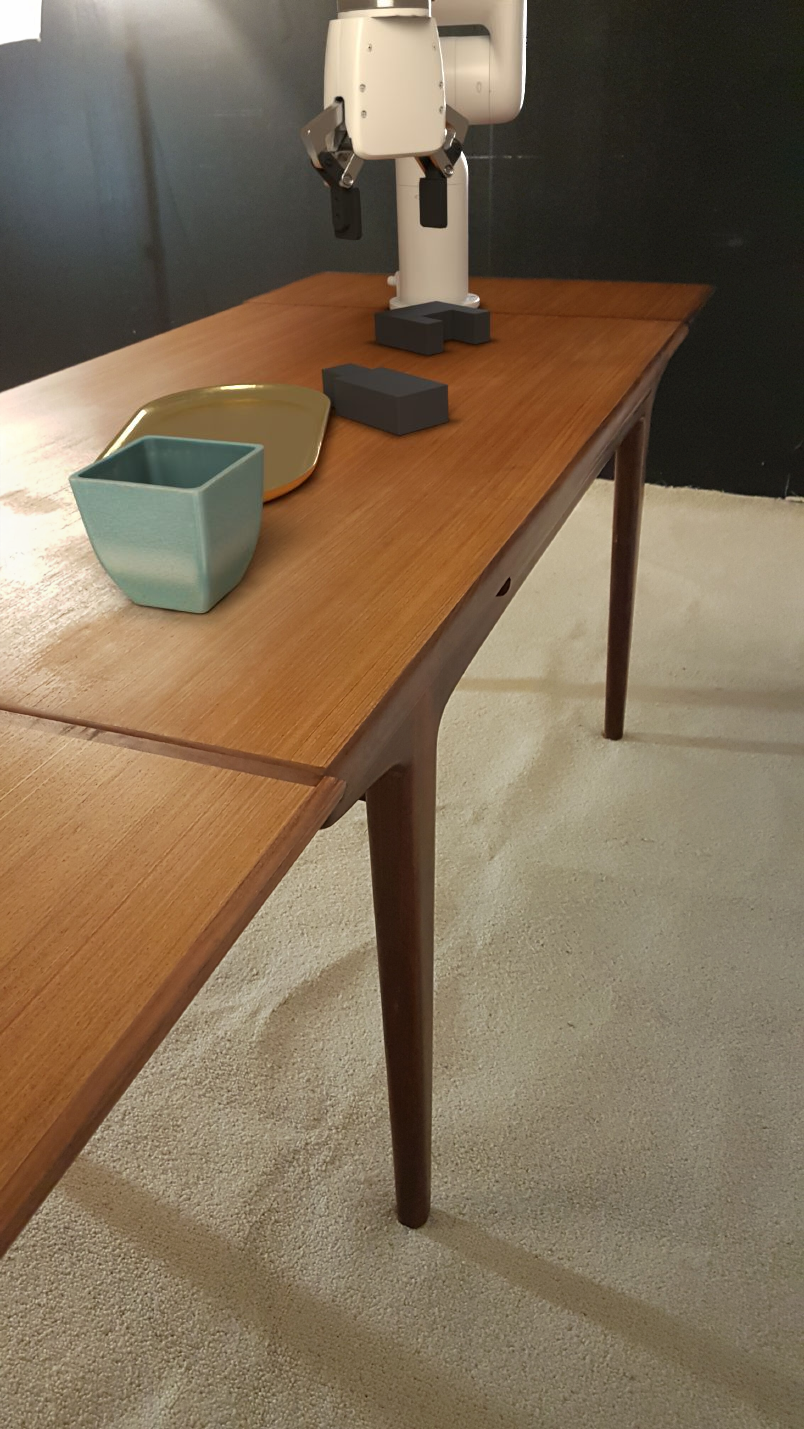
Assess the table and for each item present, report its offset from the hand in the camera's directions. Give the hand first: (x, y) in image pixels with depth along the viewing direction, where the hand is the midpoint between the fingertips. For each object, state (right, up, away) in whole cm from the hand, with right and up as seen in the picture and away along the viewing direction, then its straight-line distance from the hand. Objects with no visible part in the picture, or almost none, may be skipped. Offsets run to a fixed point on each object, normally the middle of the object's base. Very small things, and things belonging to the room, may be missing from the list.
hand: (392, 232), depth 91 cm
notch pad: (+5, +3, +35) cm, 35 cm away
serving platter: (-15, -19, +1) cm, 25 cm away
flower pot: (-13, -35, -25) cm, 45 cm away
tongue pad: (-1, -14, +9) cm, 16 cm away
